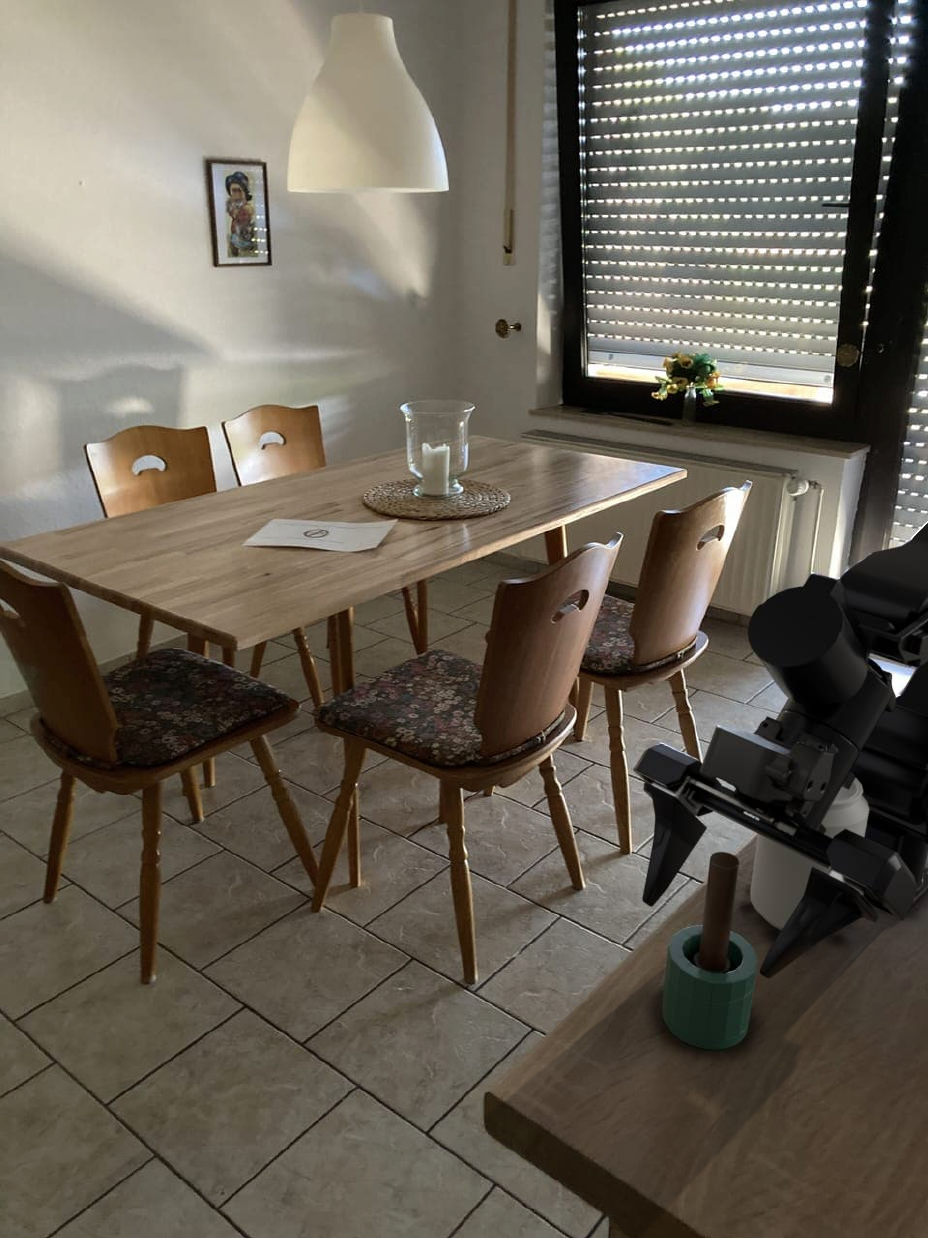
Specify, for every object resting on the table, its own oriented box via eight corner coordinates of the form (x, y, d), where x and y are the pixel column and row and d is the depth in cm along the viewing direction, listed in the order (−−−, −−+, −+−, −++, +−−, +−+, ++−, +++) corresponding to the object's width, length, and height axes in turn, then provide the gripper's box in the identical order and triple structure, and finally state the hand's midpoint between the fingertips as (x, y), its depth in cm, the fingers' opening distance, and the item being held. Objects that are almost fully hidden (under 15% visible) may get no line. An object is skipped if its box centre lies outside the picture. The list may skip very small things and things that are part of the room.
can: (756, 874, 85) (773, 746, 81) (851, 897, 82) (875, 765, 78) (741, 929, 79) (759, 793, 74) (845, 955, 76) (870, 815, 71)
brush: (706, 991, 71) (724, 844, 67) (732, 1013, 69) (752, 863, 65) (680, 1004, 70) (697, 856, 65) (706, 1027, 68) (725, 875, 64)
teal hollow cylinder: (692, 977, 74) (700, 913, 72) (764, 1019, 70) (773, 953, 68) (645, 1017, 70) (651, 952, 68) (717, 1064, 66) (726, 996, 64)
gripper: (661, 635, 70) (540, 833, 67) (928, 735, 57) (791, 986, 54) (719, 705, 78) (612, 885, 75) (966, 808, 65) (847, 1030, 62)
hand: (702, 938), depth 66 cm, fingers open, 9 cm apart
